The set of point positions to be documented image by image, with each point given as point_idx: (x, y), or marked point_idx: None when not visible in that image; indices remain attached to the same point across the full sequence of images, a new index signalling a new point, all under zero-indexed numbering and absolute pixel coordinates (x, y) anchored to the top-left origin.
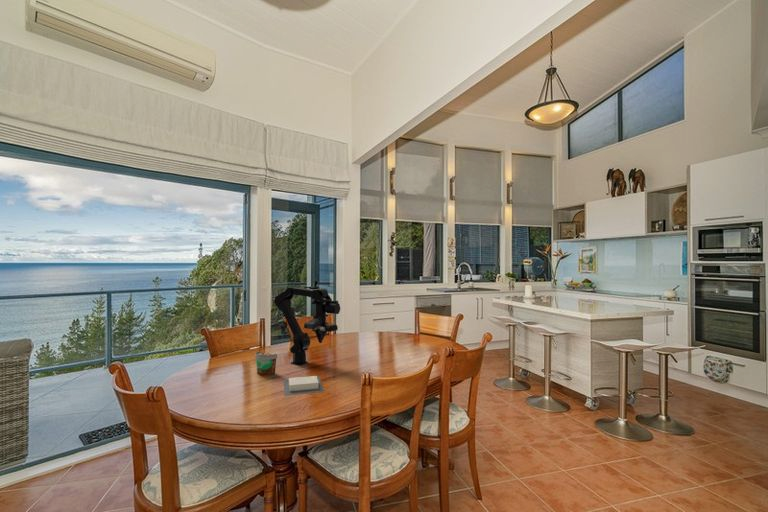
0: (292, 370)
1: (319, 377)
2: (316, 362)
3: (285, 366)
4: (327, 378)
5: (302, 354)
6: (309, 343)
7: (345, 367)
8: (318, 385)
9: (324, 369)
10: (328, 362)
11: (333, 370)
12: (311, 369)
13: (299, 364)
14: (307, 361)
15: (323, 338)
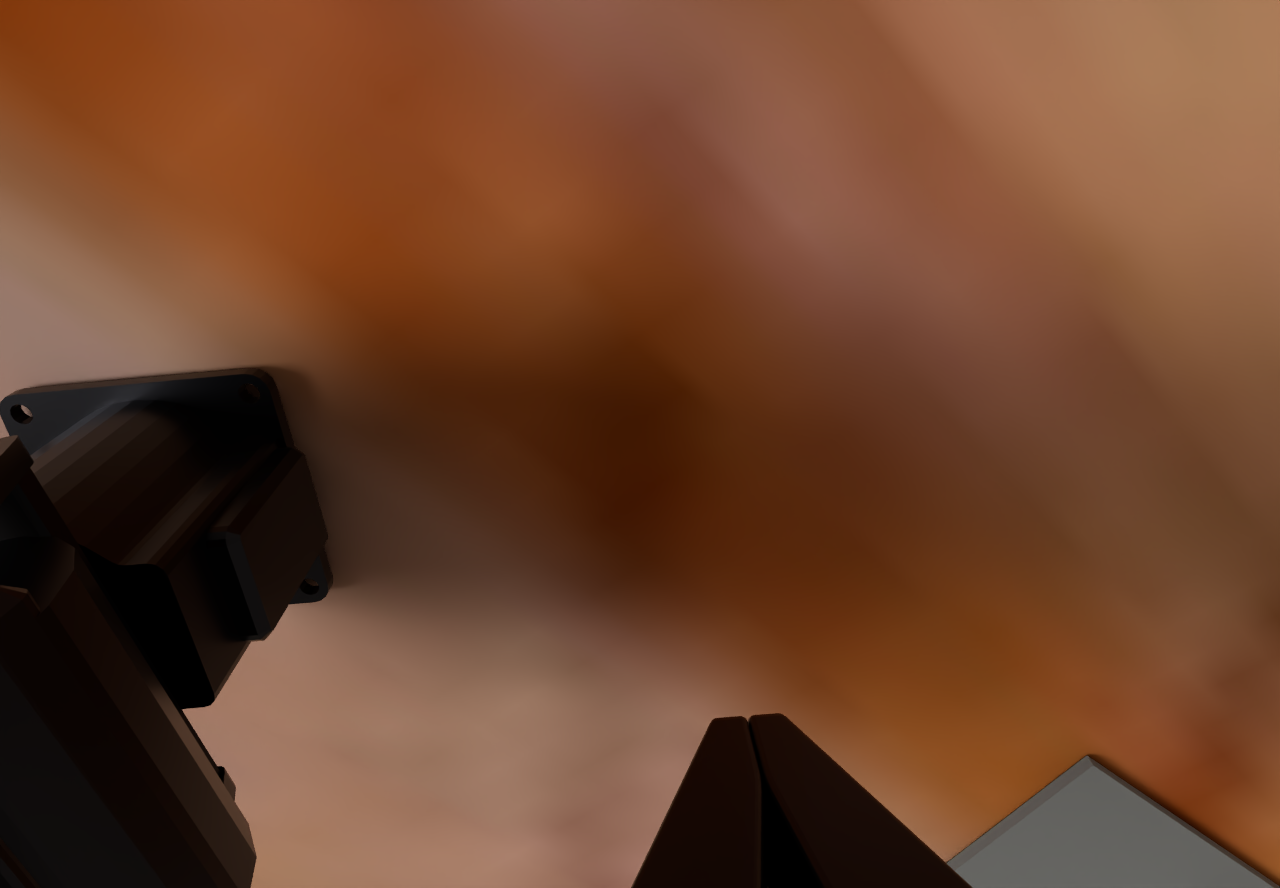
0: (495, 782)
1: (1125, 789)
2: (405, 237)
3: (215, 733)
4: (1233, 723)
5: (226, 635)
6: (67, 644)
7: (1257, 98)
8: None
9: (912, 470)
10: (632, 45)
11: (1110, 412)
12: (705, 599)
13: (328, 589)
14: (264, 383)
15: (891, 816)
